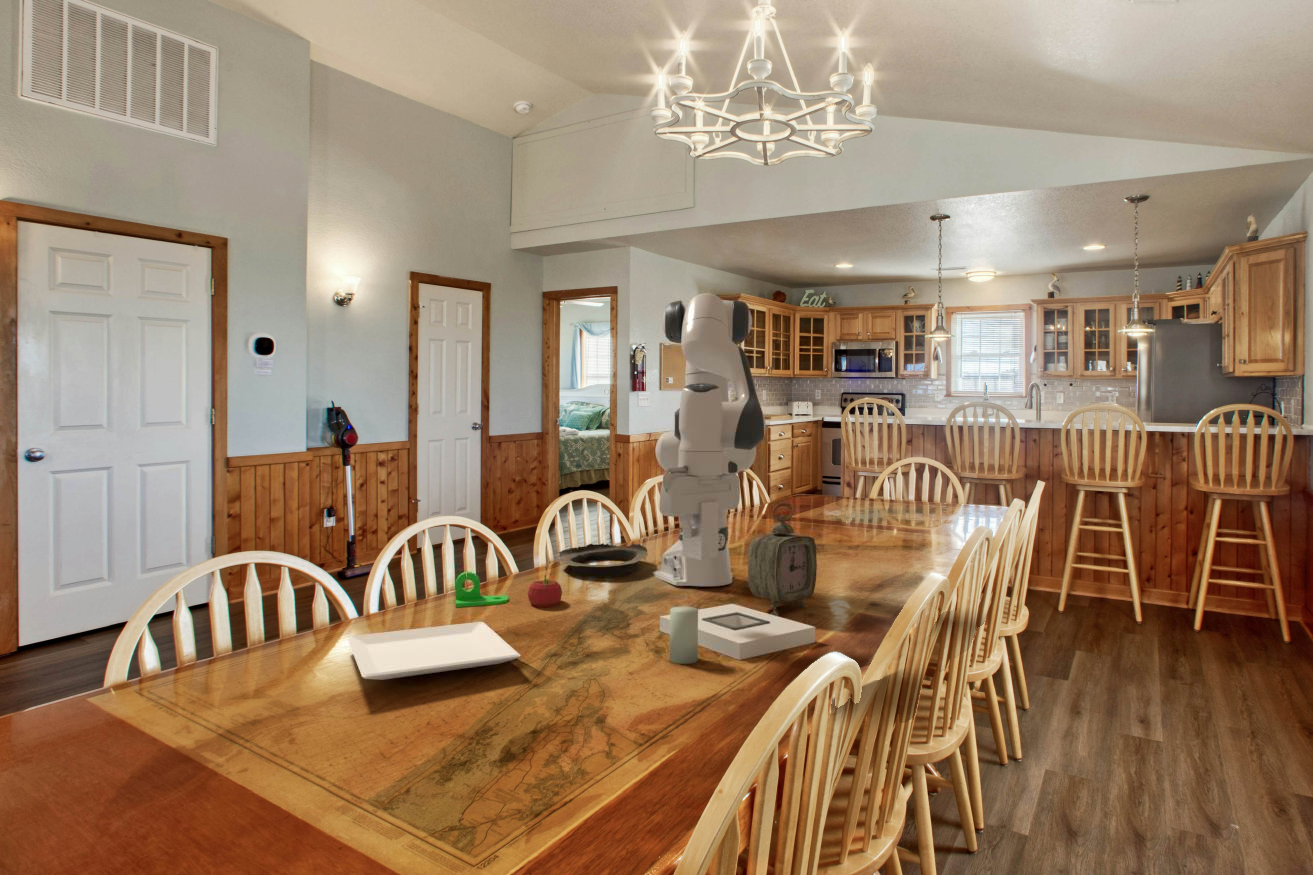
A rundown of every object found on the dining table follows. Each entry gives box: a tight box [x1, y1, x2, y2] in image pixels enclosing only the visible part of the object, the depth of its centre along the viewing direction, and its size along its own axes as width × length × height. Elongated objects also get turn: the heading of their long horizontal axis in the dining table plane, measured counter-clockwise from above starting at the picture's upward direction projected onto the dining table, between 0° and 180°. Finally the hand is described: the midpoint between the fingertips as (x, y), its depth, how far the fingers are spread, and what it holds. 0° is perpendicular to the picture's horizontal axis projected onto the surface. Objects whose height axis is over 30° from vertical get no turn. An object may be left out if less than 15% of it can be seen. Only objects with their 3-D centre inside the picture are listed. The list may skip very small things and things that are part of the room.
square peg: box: [682, 501, 719, 560], centre depth 148 cm, size 5×5×11 cm
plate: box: [346, 621, 522, 680], centre depth 137 cm, size 26×26×2 cm
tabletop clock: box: [747, 502, 818, 617], centre depth 171 cm, size 14×9×25 cm, turn 131°
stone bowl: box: [557, 543, 649, 578], centre depth 205 cm, size 25×25×9 cm
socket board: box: [659, 603, 816, 661], centre depth 151 cm, size 24×20×3 cm
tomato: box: [527, 574, 563, 608], centre depth 174 cm, size 8×8×8 cm
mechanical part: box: [455, 571, 510, 608], centre depth 175 cm, size 12×6×8 cm, turn 105°
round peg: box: [669, 606, 699, 665], centre depth 135 cm, size 5×5×9 cm
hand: (700, 535), depth 148 cm, fingers closed on square peg, 5 cm apart
